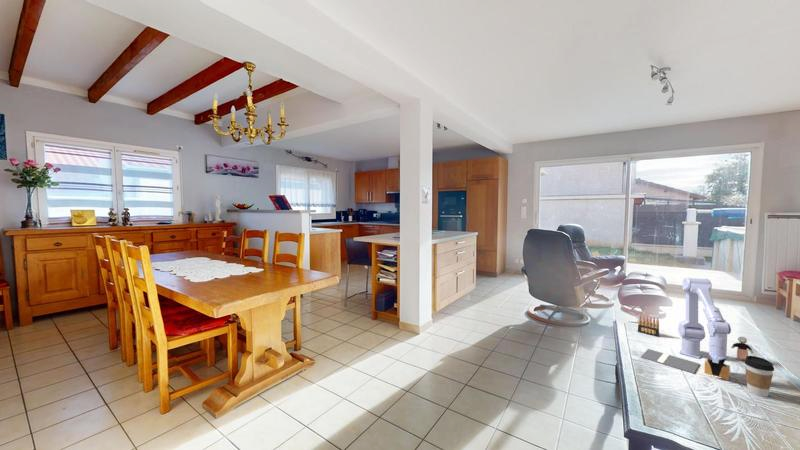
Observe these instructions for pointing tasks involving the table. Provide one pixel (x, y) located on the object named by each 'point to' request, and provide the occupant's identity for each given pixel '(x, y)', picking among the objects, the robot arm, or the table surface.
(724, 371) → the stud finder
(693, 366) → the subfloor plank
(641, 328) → the ammunition clip
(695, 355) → the robot arm
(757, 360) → the coffee cup
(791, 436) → the table surface
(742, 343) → the grandmother figurine
